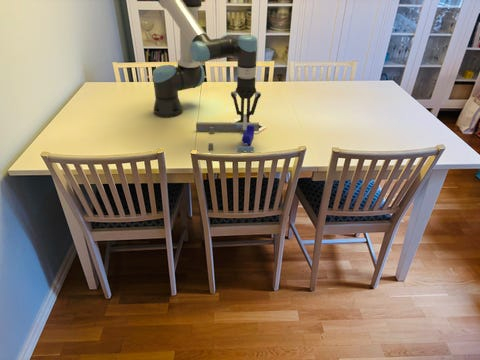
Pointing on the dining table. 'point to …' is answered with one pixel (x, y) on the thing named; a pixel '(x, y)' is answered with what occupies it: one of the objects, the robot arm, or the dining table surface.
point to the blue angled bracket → (248, 135)
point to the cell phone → (250, 122)
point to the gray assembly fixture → (226, 127)
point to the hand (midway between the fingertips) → (244, 128)
